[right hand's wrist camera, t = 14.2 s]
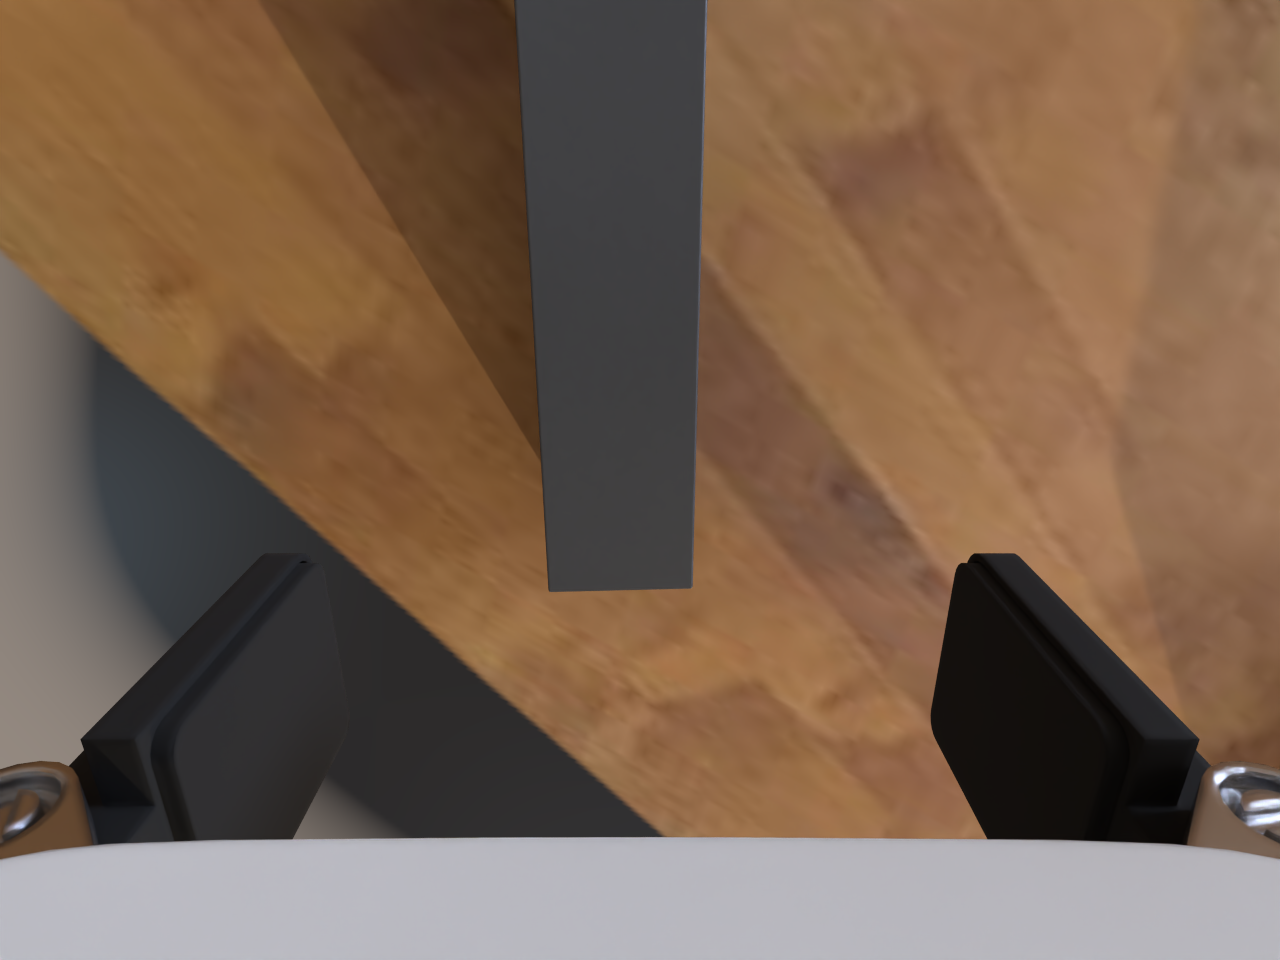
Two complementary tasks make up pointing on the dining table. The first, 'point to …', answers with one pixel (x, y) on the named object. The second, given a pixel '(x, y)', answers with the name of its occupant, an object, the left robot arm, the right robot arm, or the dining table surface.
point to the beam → (615, 280)
